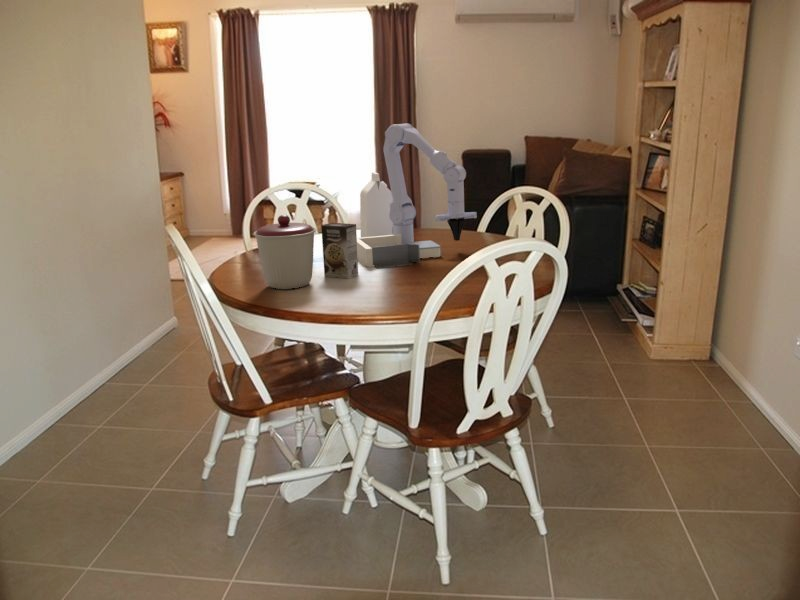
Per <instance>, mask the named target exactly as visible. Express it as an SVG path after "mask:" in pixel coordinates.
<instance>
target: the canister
mask: <svg viewBox="0 0 800 600" xmlns="http://www.w3.org/2000/svg"><path fill="white" fill-rule="evenodd" d="M277 222H278V223H272V224H267V225H264V226H261V227H259V228H258V229H257V230H256V231H254V232H253V236H254V237H255V240H256V244H257V245H256V246H257V250H258V254H259V258H260V263H261V268H262V271H263V277H264V281H265V282H266V284H267V285H268V286H269V287H270V288H271V289H275V288H276V289H275V290H292V288H295V289H299V287H300V288H303V287H305V286H307V285H309V284H310V282H311V280H312V277H313V268H314V264H313V263H314V242H315V240H314V239H315V233H316V231H317V228H315V227H314V226H312V225H310V224H308V223H302V222H291V218H290V217H289V215H286V214H281V215H279V216H278V217H277Z"/></svg>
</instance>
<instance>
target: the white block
mask: <svg viewBox="0 0 800 600" xmlns="http://www.w3.org/2000/svg"><path fill="white" fill-rule="evenodd" d="M407 244H419V253H420V258H422V259H430V258H429V257H433V258H441V257H442V246H441V245H439V244H438V243H437V242H434V241H433V240H421V241H419V240H418V241H417V240H416V241H414V242H407ZM440 256H441V257H440Z"/></svg>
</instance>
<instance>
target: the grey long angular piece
mask: <svg viewBox="0 0 800 600" xmlns="http://www.w3.org/2000/svg"><path fill="white" fill-rule="evenodd" d="M371 248H372V256H373V265H374V266H373V267H375V268H376V269H384V268H385V269H386V267H387V268H394V267H395V268H396V266H397V267H405V266H406V265H407V266H413V263H414V262H416V263H417V264H419V263H420V262H421V261H420V260H421V259H420V253H419V244H400V245H389V246H378V247H371ZM416 263H415V264H416Z"/></svg>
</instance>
